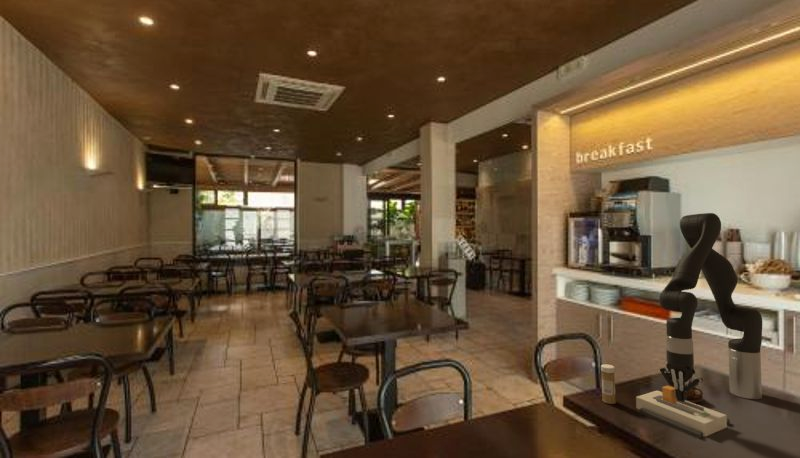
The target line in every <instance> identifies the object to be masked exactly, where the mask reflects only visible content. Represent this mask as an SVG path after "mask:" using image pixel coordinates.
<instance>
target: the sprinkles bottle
mask: <svg viewBox="0 0 800 458" xmlns="http://www.w3.org/2000/svg"><path fill="white" fill-rule="evenodd" d="M615 369H616V367H615V366H613V365H612V364H607V363H605V364H604V363H603V364H601V365H600V371H601V393H602V399H601V401H602V402H604V404H605V403H606V404H609V405H613V404H616V383H615V372H616V370H615Z"/></svg>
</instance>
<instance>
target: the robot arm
mask: <svg viewBox="0 0 800 458" xmlns="http://www.w3.org/2000/svg"><path fill="white" fill-rule="evenodd" d="M679 229H680V231H681V232H680V233H681V234H682V236H683V239H684V240H685V242H686V243H687V244H688V246H689V248H690V250H688V251H687V252H686V253H685V254H684V255H683V256H682V257H681V258H680V259H679V260H678V262H677V264H676V266H675V270H674V272H673V276H672V278H671V279H670V281H669V282H668V283H667V284H666V286H665V287H664V288H663V290H662V291H661V293H660V295H659V298H658V299H659V300H658V302H659V305H660V307H661V308H662V309H663V310H666V311H670V312H676V313H677V312H678V313H681V315H680V317H670V318H668V319H667V320H666V322H665V323H666V324H665V325H666V340H665V349H666V350H665V351H666V364H665V367H661V368H659V371H660V373H661V374H662V376H663V378H664V379H665V381H666V382H667V385H668V386H673V387H674V388H675V393H676V398H677V400H678V401H681V402H684V401H685V400H687V391H690V390H693V389H694V388H697V387H698V386H699V385H700V384H701V383H702V382H703V381H704V380H703V378H702V377H700V376H697V374H696V371H695V368H694V364H695V362H694V360H695V359H694V357H695V356H694V342H693V321H694V317H695V313H696V311H697V308H698V303H699V302H698V299H697V297H696V295H695V294H694V293H693V292H691V291H690V290H693V289H695V288H697V284H698V281H699V278H700V275H701V272H702V275H703V276H704V279H705V281H706V283H707V285H708V287H709V288H710V291H711V293H712V297H713V298H714V301H715V304H716V308H717V310H718V313H719V316H720V319H721V322H722V323H723V325H724V326H725V327H726V328H728V329H730V330H732V331H738V332H742V333H743V335H742V337H740V338H732V339H729V340H728V341H727V342H728V372H729V374H728V376H729V378H728V379H729V380H728V382H729V393H731V394H732V395H734V396H737V397H738V398H739V397H740V398H743V399H748V400H760V399H762V398H763V397H762V395H763V391H762V387H763V386H762V362H761V361H762V360H761V359H762V357H761V356H762V355H761V347H762V343H763V316H762V314H761V312H760V311H759V310H757V309H755V308H750V307H743V306H737V305H736V304H735V303H734V301H733V297H732V296H733V293H734V291H735V290H736V287H737V284H738V282H739V281H738V276H737V273H736V271H735V269H734V266H733V265H732V263H731V262H730V261H729V260H728V259H727V258H726V257H725V256H724V255H722V254H720V253H719V252H718V251H716V250H715V249H713V247H714V245H715V243H716V242H717V240H718V238H719V236H720V233H721V231H722V222H721V219H720V216H719V215H718V214H716V213H713V212H706V213H695V214H688V215H683V216H682V217H681V218H680V220H679ZM689 291H690V292H689ZM690 380H691V383H690V384H689V385H688V383H689V381H690Z"/></svg>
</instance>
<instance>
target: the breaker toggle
mask: <svg viewBox="0 0 800 458" xmlns="http://www.w3.org/2000/svg"><path fill="white" fill-rule="evenodd" d="M661 390H662V391H661V392H662V399H663V400H665V401H668V402H670V403H675V402H677V398H676V393H675V388H674V387H671V386H670V385H669V384H667V385H665V386H662V387H661Z"/></svg>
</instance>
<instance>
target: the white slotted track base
mask: <svg viewBox="0 0 800 458" xmlns="http://www.w3.org/2000/svg"><path fill="white" fill-rule="evenodd" d="M638 411H639V414H640V415H643V416H645V417H647V418H650V419H651V420H654V421H657V422H659V423H661V424H664V425H666V426H669V427H671V428H673V429H675V430H677V431H680V432H683V433H685V434H687V435H689V436H692V437H694V438H696V437H697V439H699V440H701V439H702V438H703V437H704V436H703V432H700V431H698V430H696V429H693V428H691V427H688V426H686V425H683V424H681V423H679V422H676V421H674V420H671V419H669V418H666V417H664V416H661V415H659V414H657V413H654V412H652V411H649V410H647V409H644V408H640V409H638ZM730 421H731V420H730V419H729V418H727V427H728V426H730V423H731V422H730Z"/></svg>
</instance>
